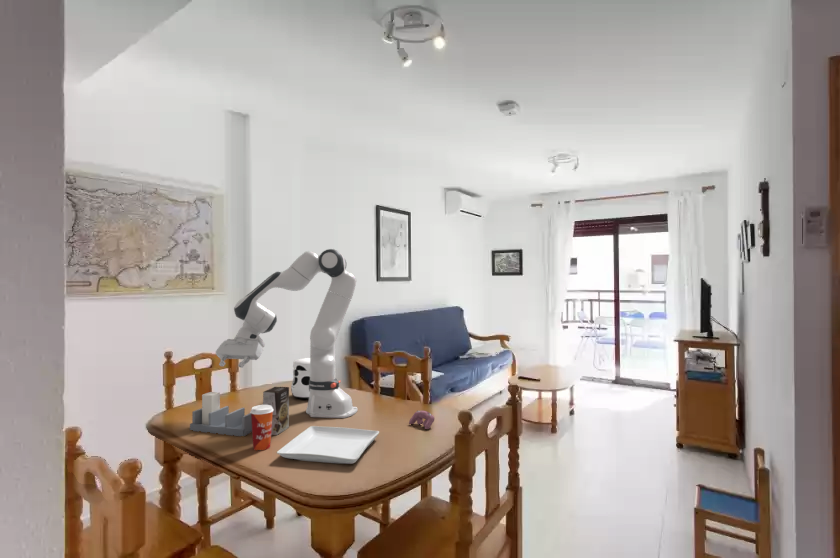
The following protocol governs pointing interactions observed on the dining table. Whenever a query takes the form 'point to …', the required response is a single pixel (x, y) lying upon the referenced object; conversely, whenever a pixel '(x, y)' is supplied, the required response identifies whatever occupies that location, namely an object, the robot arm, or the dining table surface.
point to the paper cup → (261, 426)
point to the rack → (223, 422)
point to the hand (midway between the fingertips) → (230, 366)
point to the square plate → (329, 444)
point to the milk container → (301, 378)
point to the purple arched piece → (420, 416)
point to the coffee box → (278, 408)
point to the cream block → (209, 405)
